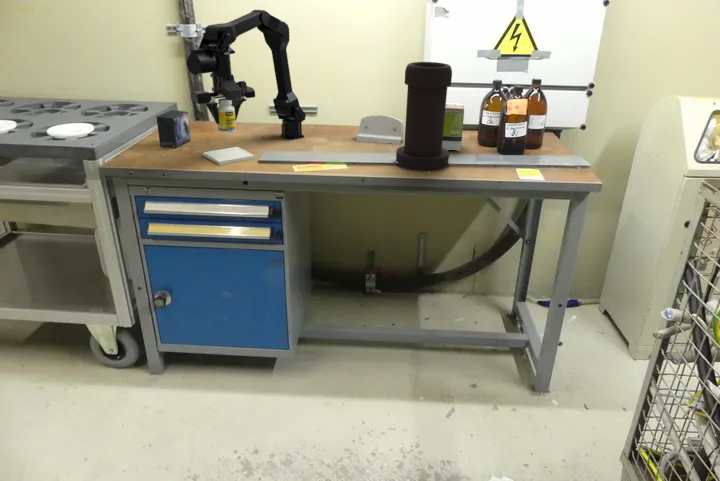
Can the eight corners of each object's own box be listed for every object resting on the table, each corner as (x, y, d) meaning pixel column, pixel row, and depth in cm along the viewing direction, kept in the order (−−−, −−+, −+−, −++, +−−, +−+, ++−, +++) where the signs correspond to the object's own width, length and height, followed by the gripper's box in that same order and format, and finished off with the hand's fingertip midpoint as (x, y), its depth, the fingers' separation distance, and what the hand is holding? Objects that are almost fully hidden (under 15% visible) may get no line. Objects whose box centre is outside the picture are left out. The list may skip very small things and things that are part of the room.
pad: (237, 149, 178) (237, 146, 178) (254, 158, 170) (254, 155, 169) (203, 155, 171) (203, 152, 171) (219, 164, 163) (219, 161, 163)
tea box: (460, 144, 190) (464, 102, 184) (460, 152, 181) (465, 108, 175) (417, 142, 192) (420, 100, 185) (416, 149, 183) (419, 106, 177)
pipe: (448, 157, 175) (457, 62, 162) (447, 173, 161) (457, 69, 148) (398, 153, 178) (403, 59, 165) (393, 169, 163) (398, 67, 150)
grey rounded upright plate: (355, 140, 191) (358, 112, 190) (358, 142, 196) (361, 114, 195) (401, 144, 188) (404, 116, 187) (403, 145, 192) (406, 117, 191)
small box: (177, 149, 178) (173, 117, 173) (159, 147, 179) (154, 116, 174) (192, 140, 187) (188, 110, 182) (175, 139, 188) (171, 109, 184)
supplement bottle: (227, 134, 163) (224, 101, 159) (215, 131, 166) (211, 99, 162) (240, 130, 168) (237, 98, 163) (227, 127, 170) (224, 96, 166)
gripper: (202, 77, 148) (208, 132, 155) (262, 71, 159) (265, 123, 166) (187, 71, 156) (193, 124, 163) (244, 66, 166) (248, 116, 173)
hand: (226, 122), depth 166 cm, fingers closed on supplement bottle, 5 cm apart
